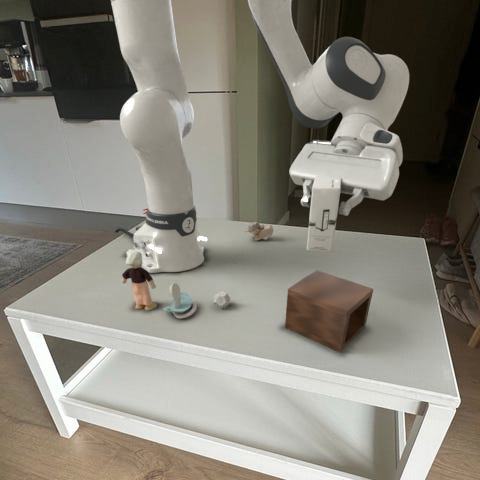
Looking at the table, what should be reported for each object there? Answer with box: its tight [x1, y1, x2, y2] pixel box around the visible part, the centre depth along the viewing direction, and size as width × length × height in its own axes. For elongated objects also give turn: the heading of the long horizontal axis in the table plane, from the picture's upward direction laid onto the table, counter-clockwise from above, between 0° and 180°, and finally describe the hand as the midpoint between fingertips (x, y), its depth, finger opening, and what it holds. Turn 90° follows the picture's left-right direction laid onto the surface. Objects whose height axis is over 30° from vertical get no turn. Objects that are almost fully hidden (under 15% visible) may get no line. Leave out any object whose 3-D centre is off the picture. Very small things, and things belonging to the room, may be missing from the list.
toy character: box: [244, 221, 274, 241], centre depth 109 cm, size 4×8×6 cm, turn 79°
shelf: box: [284, 269, 375, 354], centre depth 69 cm, size 12×10×9 cm
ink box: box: [306, 176, 341, 253], centre depth 68 cm, size 9×5×12 cm, turn 167°
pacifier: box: [162, 282, 198, 319], centre depth 75 cm, size 7×6×6 cm
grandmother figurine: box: [121, 250, 157, 311], centre depth 75 cm, size 8×4×13 cm, turn 84°
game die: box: [213, 290, 231, 310], centre depth 78 cm, size 4×4×3 cm
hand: (323, 209), depth 68 cm, fingers closed on ink box, 6 cm apart
